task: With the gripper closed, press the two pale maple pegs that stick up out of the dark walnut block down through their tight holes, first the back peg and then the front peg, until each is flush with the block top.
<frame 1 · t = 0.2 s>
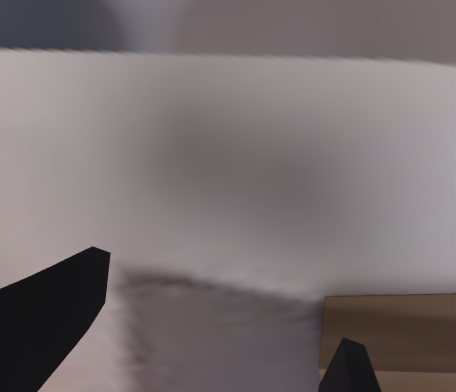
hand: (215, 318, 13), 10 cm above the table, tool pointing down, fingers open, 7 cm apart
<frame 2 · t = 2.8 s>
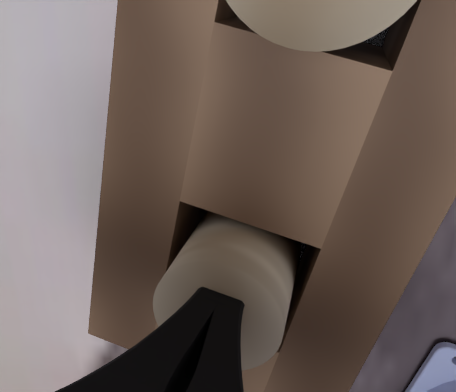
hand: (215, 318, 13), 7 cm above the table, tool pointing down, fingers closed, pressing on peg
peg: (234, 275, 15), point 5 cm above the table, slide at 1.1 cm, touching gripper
walnut block: (294, 103, 16), on the table
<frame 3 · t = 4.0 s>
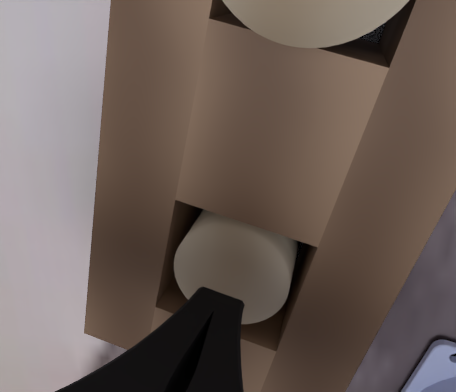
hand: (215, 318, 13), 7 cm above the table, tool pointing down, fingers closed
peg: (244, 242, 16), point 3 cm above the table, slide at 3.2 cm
walnut block: (290, 100, 16), on the table
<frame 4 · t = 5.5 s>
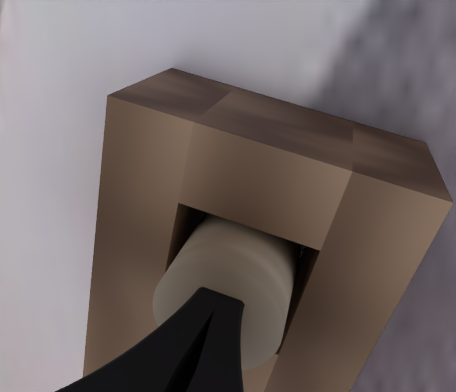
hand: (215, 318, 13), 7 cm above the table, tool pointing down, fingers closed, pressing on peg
walnut block: (234, 299, 21), on the table
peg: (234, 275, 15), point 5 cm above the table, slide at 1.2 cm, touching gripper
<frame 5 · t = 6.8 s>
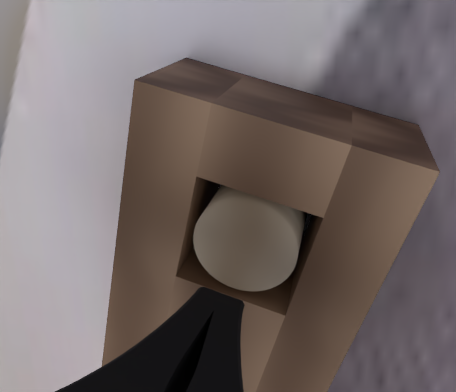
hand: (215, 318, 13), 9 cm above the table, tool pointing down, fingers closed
walnut block: (242, 274, 23), on the table
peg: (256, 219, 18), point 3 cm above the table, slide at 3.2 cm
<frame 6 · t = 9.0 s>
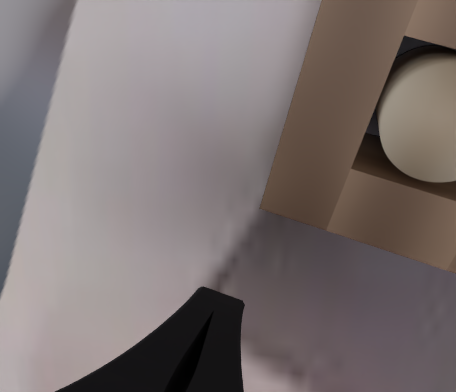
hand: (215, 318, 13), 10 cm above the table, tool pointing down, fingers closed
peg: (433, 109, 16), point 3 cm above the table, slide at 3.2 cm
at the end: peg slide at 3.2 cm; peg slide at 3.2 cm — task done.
